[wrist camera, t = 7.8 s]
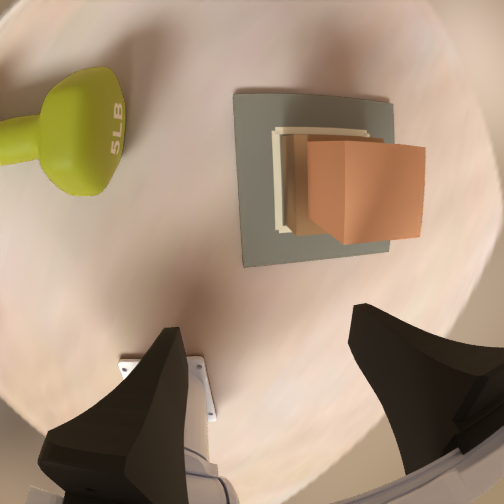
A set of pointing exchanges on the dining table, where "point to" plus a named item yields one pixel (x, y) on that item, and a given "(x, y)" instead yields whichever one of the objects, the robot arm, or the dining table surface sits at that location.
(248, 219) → the grey square base plate
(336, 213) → the top block
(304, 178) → the base block
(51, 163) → the dumbbell
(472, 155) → the dining table surface
